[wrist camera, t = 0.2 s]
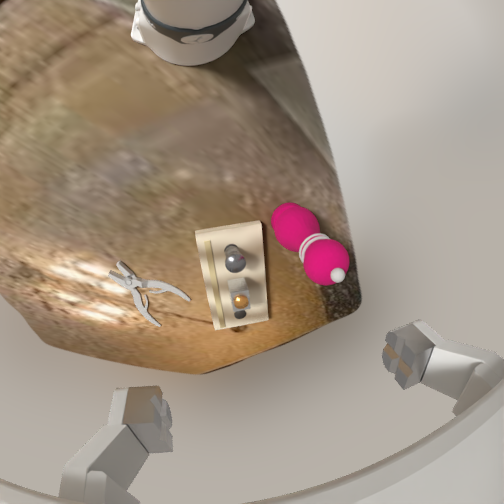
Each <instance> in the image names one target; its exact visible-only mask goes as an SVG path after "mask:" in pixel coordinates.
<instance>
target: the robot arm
mask: <svg viewBox="0 0 504 504" xmlns="http://www.w3.org/2000/svg"><path fill="white" fill-rule="evenodd" d="M135 10H136V12H135V17H134V22H133V27H132V32H131V37H132V39H133V40H134V41H135V42H137V43H140V44H143V45H146V46H148V47H149V48H150V49H151V50H152V51H153V52H154V53H155V54H156V55H158V56H159V57H160V58H162V59H164V60H165V61H168V62H170V63H173V64H177V65H185V66H191V65H200V64H204V63H208V62H210V61H213V60H215V59H217V58H219V57H220V56H222V55H223V54H225V53H226V52H227V51H228V50H229V49H230V48H231V47H232V46H233V44H234V43H235V41H236V40H237V38H238V37H239V36H240V35H241V34H242V33H244V32H245V31H247V30H249V29H250V28H251V27H252V26H253V25H254V23H255V18H254V16H253V13H252V6H250V5H249V2H248V0H138V3H136V6H135ZM138 29H139V30H138ZM385 341H386V342H387V345H386V346H385V348H384V349H383V354H382V358H383V363H384V365H385V367H386V369H387V370H388V371H389V372H392V373H394V374H395V380H396V381H397V382H398V384H399V385H400V386H401V387H402V388H403V390H405V389H407V388H409V387H411V386H413V385H415V384H417V383H420V382H421V383H422V384H424V385H426V386H428V387H430V388H432V389H435V390H437V391H439V392H441V393H443V394H445V395H448V396H450V397H452V398H454V399H456V400H458V401H457V403H456V404H455V406H454V408H453V413H454V414H455V415H456V417H455V418H454V419H452V420H451V421H449V422H448V423H446V424H445V425H443V426H442V427H440V428H439V429H437V430H436V431H434V432H432V433H431V434H429V435H428V436H426V437H424V438H422V439H421V440H419V441H417V442H416V443H414V444H412V445H410V446H409V447H407V448H405V449H403V450H401V451H399V452H397V453H395V454H394V455H392V456H389V457H387V458H385V459H383V460H381V461H379V462H377V463H375V464H372V465H371V466H368V467H366V468H363V469H361V470H359V471H356V472H354V473H351V474H349V475H346V476H344V477H341V478H338V479H335V480H333V481H330V482H327V483H324V484H321V485H318V486H315V487H311V488H308V489H305V490H301V491H298V492H294V493H290V494H286V495H282V496H278V497H274V498H270V499H264V500H260V501H254V502H249V503H243V504H504V359H502V358H501V357H500V356H499V355H498V354H497V353H496V352H493V351H490V350H486V349H482V348H478V347H474V346H470V345H467V344H463V343H459V342H456V341H452V340H446V341H445V340H444V339H443V338H442V337H441V336H440V335H439V334H438V333H436V332H435V331H434V330H433V329H432V328H431V327H430V326H428V325H427V324H426V323H425V322H424V321H422V320H416V321H414V322H412V323H409V324H407V325H404V326H402V327H399V328H397V329H394V330H392V331H389V332H388V333H387V335H386V339H385ZM171 427H172V417H171V411H170V408H169V405H168V403H167V401H166V400H164V399H162V391H161V389H160V387H159V386H146V387H130V388H116V390H115V391H114V394H113V400H112V404H111V409H110V414H109V419H108V425H103V426H102V427H101V428H100V429H99V430H98V431H97V432H96V434H94V436H92V438H91V439H90V440H89V441H88V442H87V443H86V444H85V445H84V446H83V447H82V448H81V449H80V450H79V451H78V452H77V453H76V454H75V455H74V456H73V457H72V458H71V459H70V460H69V461H68V462H67V463H66V464H65V465H64V469H63V474H62V480H61V485H60V492H59V497H55V496H51V495H48V494H44V493H41V492H37V491H34V490H30V489H27V488H24V487H21V486H18V485H16V484H13V483H10V482H8V481H5V480H3V479H0V504H140V501H138V500H137V499H136V498H135V497H134V496H132V495H131V494H130V493H128V492H127V489H128V487H129V486H130V484H131V483H132V481H133V480H134V478H135V477H136V475H137V474H138V472H139V470H140V469H141V467H142V466H143V464H144V462H145V461H146V459H147V458H148V456H149V453H163V452H172V451H173V445H172V435H171V433H170V431H169V429H170V428H171Z"/></svg>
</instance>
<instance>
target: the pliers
mask: <svg viewBox="0 0 504 504" xmlns="http://www.w3.org/2000/svg"><path fill="white" fill-rule="evenodd" d="M116 265H117V267H118V268H119V269H120V271H121V272H122V273H123V275H124V276H125V277H126V278H125V277H124V276H122V275H120V274H118V273H116V272H114V271H112V270H110V272H109V275H108V276H109V277H110V278H111V279H113V280H114V281H116V282H117V283H118V284H120V285H121V286H123V287H125V288H127V289H129V290H131V292H132V295H133V298H134V303H135V305H136V307H137V308H138V310H139V311H140V313H141V314H142V315H143V316H144V317H145V318H146V319H147V320H149V321H150V322H151V323H153V324H155V325H157V326H159V327H160V326H161V324H160V323H158V322H157V321H156V320H155V319H154V318H153V317H152V316H151V315H150V314H149V313H148V311H147V307H148V299H147V296H146V294H145V295H144V296H145V299H146V305H145V307H144V306H143V304H142V300H141V296H140V293H139V292H138V290H137V289H136V288H135V287H137V286H139V287H141V288H145V287H153V288H162V290H159V291H152V290H149V292H150V293H162V292H165V291H171V292H173V293H175V294H177V295H179V296H181V297H182V298H184V299H186V300H187V301H190V298H189V297H188V296H187V295H186V294H185V293H184V292H183V291H182V290H180V289H179V288H177V287H175V286H173V285H171V284H169V283H166V282H163V281H159V280H146V279H142V278H137V277H136V276H135V274H134V273H133V272H132V271H131V270H130V269H129V268H128V267H127V266H126V265H124V264H123V263H122V262H121V261H118V262H117V264H116Z"/></svg>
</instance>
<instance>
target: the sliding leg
mask: <svg viewBox="0 0 504 504" xmlns="http://www.w3.org/2000/svg"><path fill="white" fill-rule="evenodd" d="M227 282H228V288H229V294H230V300H231V304H232V308H233V312H236V311H241V310H247V309H251V306H250V297H249V289H248V287H247V284H246V281H245V278H244V277H242V278H237V279H231V280H227Z"/></svg>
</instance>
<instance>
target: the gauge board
mask: <svg viewBox="0 0 504 504" xmlns="http://www.w3.org/2000/svg"><path fill="white" fill-rule="evenodd" d="M195 235H196V241H197V246H198V252H199V257H200V262H201V267H202V272H203V277H204V282H205V287H206V292H207V296H208V301H209V306H210V310H211V315H212V319H213V324H214V328H215V330H219V329H225V328H230V327H236V326H241V325H246V324H251V323H256V322H261V321H266V320H268V307H267V292H266V278H265V264H264V250H263V237H262V224H261V222H260V221H252V222H246V223H240V224H233V225H227V226H221V227H215V228H209V229H203V230H197V231H195ZM230 246H235V247H237V248H238V249H239V252H240V254H242V255H243V256H244V258H245V260H246V266H245V268H244V269H243V270H242V271H241V272H238V273H231V272H229V271H228V270H227V268H226V266H225V259H226V256H225V250H226V249H227V248H228V247H230ZM242 277H244V278H245V281H246V284H247V287H248V289H249V297H250V306H251V309H247V310H241V311H236V312H233V308H232V304H231V300H230V294H229V288H228V282H227V280H231V279H237V278H242Z"/></svg>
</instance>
